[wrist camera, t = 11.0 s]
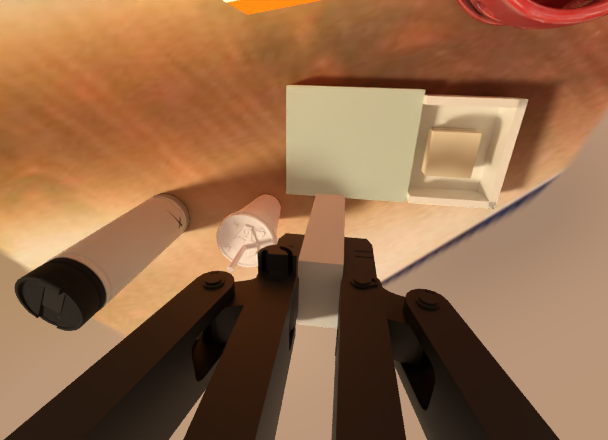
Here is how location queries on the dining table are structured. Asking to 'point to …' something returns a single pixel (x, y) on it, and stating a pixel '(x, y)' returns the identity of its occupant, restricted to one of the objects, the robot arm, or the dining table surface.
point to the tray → (490, 157)
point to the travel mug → (101, 263)
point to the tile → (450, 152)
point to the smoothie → (249, 231)
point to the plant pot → (534, 12)
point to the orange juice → (263, 4)
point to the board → (351, 140)
